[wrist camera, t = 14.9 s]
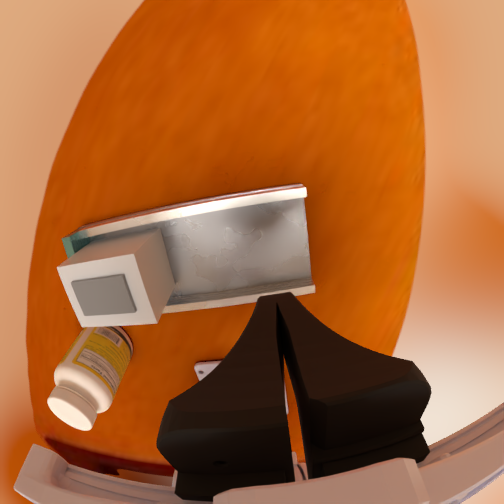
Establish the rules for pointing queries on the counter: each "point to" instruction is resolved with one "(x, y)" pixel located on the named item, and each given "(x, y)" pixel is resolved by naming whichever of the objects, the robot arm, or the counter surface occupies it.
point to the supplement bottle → (90, 375)
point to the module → (119, 280)
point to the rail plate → (223, 245)
